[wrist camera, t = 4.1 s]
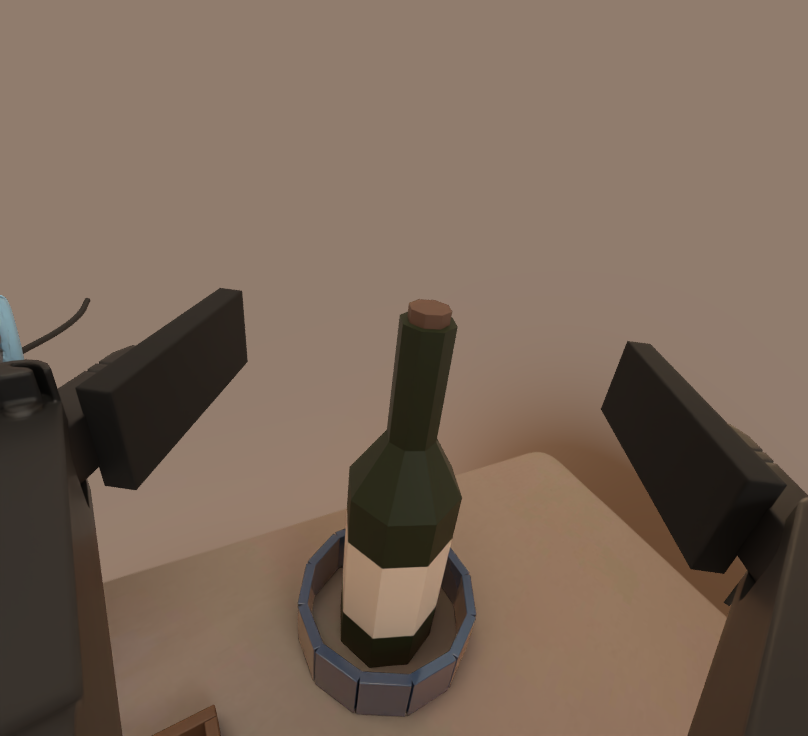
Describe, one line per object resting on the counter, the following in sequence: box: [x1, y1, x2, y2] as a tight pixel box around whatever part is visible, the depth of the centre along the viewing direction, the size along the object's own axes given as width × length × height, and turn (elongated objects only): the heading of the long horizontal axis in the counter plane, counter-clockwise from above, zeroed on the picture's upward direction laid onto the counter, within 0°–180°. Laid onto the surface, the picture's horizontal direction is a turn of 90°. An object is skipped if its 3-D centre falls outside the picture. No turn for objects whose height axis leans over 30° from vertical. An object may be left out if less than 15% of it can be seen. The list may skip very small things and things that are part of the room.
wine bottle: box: [341, 299, 462, 667], centre depth 32 cm, size 8×8×30 cm
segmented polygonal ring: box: [298, 529, 476, 716], centre depth 38 cm, size 15×15×4 cm
